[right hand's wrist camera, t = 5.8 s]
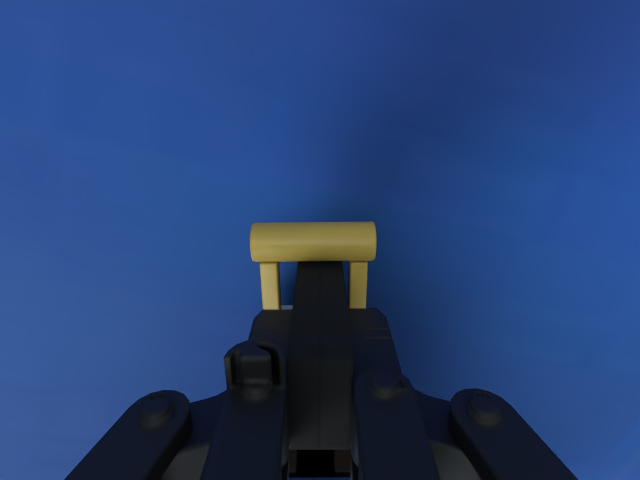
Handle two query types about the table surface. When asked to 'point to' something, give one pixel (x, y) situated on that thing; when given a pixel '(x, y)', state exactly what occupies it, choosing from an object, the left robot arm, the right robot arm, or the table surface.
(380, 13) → the table surface
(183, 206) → the table surface
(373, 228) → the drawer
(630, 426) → the table surface
